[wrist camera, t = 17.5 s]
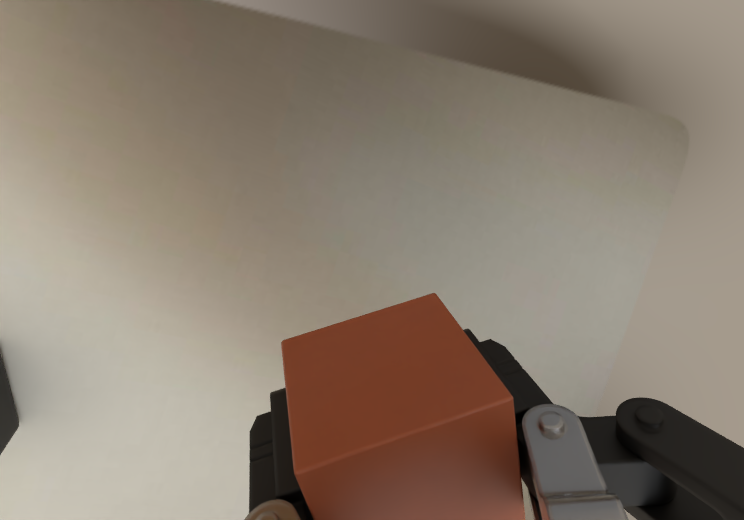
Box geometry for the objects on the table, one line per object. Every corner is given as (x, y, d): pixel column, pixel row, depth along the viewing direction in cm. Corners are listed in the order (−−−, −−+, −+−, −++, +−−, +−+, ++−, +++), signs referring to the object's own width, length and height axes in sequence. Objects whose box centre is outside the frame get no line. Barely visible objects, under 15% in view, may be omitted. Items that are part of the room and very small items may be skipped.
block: (280, 339, 13) (293, 473, 9) (435, 291, 13) (514, 396, 9) (322, 453, 15) (348, 604, 11) (455, 407, 16) (528, 534, 11)
